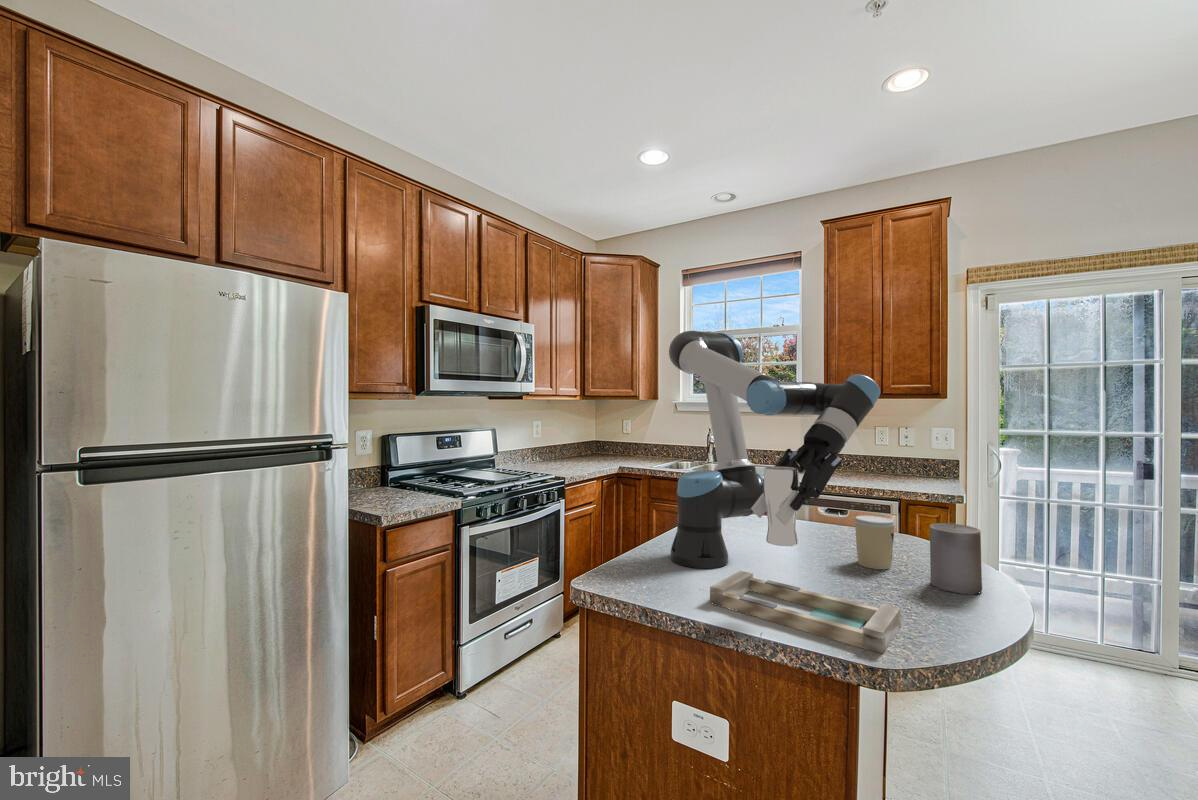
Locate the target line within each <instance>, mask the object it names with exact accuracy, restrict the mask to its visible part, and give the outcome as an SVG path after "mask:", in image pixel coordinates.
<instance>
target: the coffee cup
mask: <svg viewBox="0 0 1198 800" xmlns="http://www.w3.org/2000/svg"><path fill="white" fill-rule="evenodd" d="M854 526H855V528H854V529H855V543H856V555H857V563H858V565H859V566H862V567H864V568H869V569H874V570H889V569H891V568H892V564H893V563H892V562H893V552H894V550H893V549H894V537H895V527H896V523H895V522H894V520H893V519H891V518H888V517H884V516H877V515H857V516H855V518H854Z"/></svg>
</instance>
